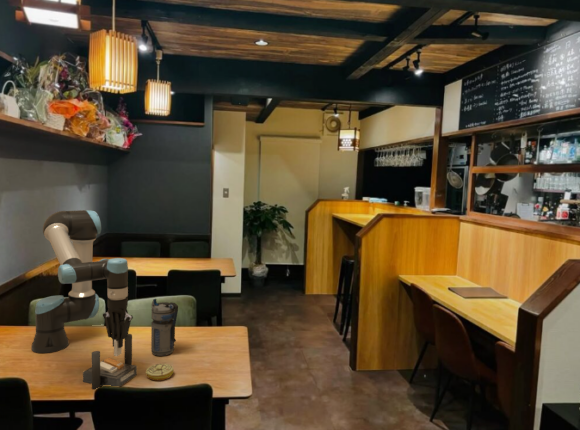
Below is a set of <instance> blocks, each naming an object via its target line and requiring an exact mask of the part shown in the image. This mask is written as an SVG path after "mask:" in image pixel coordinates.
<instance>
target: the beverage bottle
mask: <svg viewBox="0 0 580 430" xmlns="http://www.w3.org/2000/svg"><path fill="white" fill-rule="evenodd" d="M178 311H179V305H178V304H176V302H167V301H166V302H165V301H162V302H161V301H160V302H157V298H154V299H153V300H152V302H151V319H152V322H151V326H150V327H151V331H150V332H151V333H150V334H151V337H150V338H151V342H150V343H151V347H150V349H151V350H150V351H151V353H152V355H154V356H157V357H165V356H168V355H171V354H172V353H173V352H174V350H175V343H176V342H177V339H176V338H175V337H176V336H175V335H176V324H177V318H178Z"/></svg>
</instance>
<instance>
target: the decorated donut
mask: <svg viewBox="0 0 580 430" xmlns="http://www.w3.org/2000/svg"><path fill="white" fill-rule="evenodd" d="M145 374H146V377H147V378H148V379H150V380H152V381H165V380H167V379H169V378H170V377H171V376H172V375H173V374H174V366H172V364H169V363H157V364H153V365H151V366H149V367H147V368H146V370H145Z"/></svg>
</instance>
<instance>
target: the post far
mask: <svg viewBox="0 0 580 430" xmlns="http://www.w3.org/2000/svg"><path fill="white" fill-rule="evenodd" d="M123 346H124V350H123V351H124V352H123V353H124V362H123V363H125V364H130V365H133V334H131V333H128V336H127V338H125V339H124V342H123Z"/></svg>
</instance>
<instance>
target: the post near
mask: <svg viewBox="0 0 580 430" xmlns="http://www.w3.org/2000/svg"><path fill="white" fill-rule="evenodd" d="M100 362H101V351H100V350H95V351H94V350H93V351H92V352H91V367H92V384H91V390H95V389H96V388H98V387H100V388H101V385H100ZM96 390H97V389H96Z"/></svg>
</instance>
